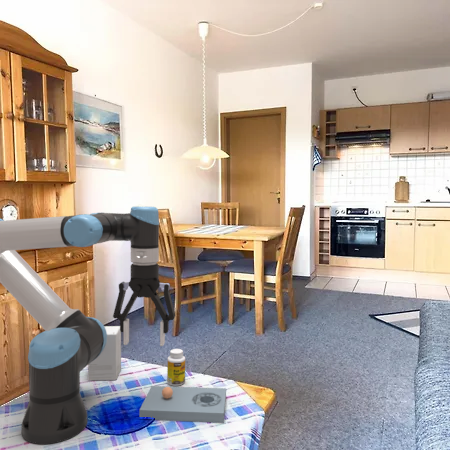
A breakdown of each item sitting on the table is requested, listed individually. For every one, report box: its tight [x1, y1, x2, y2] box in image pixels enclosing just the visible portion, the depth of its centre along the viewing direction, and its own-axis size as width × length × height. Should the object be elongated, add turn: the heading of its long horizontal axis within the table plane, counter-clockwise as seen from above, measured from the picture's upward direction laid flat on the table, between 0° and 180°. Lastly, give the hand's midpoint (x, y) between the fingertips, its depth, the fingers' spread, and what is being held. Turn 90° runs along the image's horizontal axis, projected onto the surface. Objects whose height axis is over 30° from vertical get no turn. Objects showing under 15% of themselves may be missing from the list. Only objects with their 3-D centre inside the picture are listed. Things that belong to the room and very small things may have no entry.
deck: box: [138, 385, 227, 424], centre depth 112 cm, size 22×14×2 cm, turn 87°
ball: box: [162, 387, 173, 399], centre depth 112 cm, size 3×3×3 cm
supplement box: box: [87, 325, 122, 381], centre depth 132 cm, size 9×9×15 cm
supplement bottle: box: [166, 348, 186, 387], centre depth 127 cm, size 6×6×10 cm
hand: (144, 343), depth 112 cm, fingers open, 9 cm apart
